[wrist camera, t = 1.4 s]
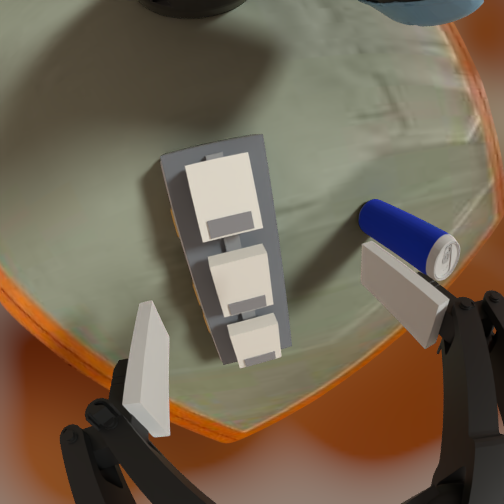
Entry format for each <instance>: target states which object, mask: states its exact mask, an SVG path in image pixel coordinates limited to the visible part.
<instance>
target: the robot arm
mask: <svg viewBox="0 0 504 504" xmlns="http://www.w3.org/2000/svg"><path fill="white" fill-rule="evenodd" d="M245 1H246V0H139V2H140V3H141V4H142V5H143V6H145V7H146V8H148V9H149V10H151V11H153V12H155V13H158V14H161V15H164V16H169V17H174V18H202V17H209V16H214V15H217V14H221V13H224V12H227V11H229V10H232V9H234V8H236V7H238V6H239V5H241V4H242V3H244V2H245ZM358 1H360V2H362V3H365V4H368V5H370V6H372V7H373V8H375V9H376V10H378V11H380V12H381V13H383V14H384V15H386V16H387V17H389V18H391V19H392V20H394V21H397V22H399V23H402V24H406V25H418V26H435V25H442V24H446V23H450V22H453V21H456V20H459V19H461V18H463V17H465V16H467V15H469V14H471V13H472V12H474V11H475V10H477V9H478V8H479V7H480V6H481V5H482V4H483V1H484V0H358ZM361 283H362V284H363V285H364V286H365V287H366V288H367V289H368V290H369V291H370V292H371V293H372V294H373V295H374V296H375V297H376V298H377V299H378V300H379V301H380V302H381V303H382V304H383V305H384V306H385V307H386V308H387V309H388V311H389V312H390V313H391V314H392V315H393V316H394V317H395V318H396V319H397V320H398V321H399V322H400V323H401V324H402V325H403V326H404V327H405V328H406V329H407V330H408V331H409V332H410V333H411V335H413V337H414V338H415V339H416V340H417V341H418V342H419V343H420V344H421V345H422V346H423V347H424V348H425V349H426V348H428V347H429V346H431V345H433V344H434V343H436V340H437V337H438V334H440V336H441V337H442V340H441V343H440V346H439V348H438V351H437V354H439V352H440V350H441V349H442V362H443V383H444V411H443V413H444V414H443V431H442V444H441V453H440V461H439V464H438V467H437V469H436V471H435V473H434V475H433V479H432V484H431V487H429V488H427V489H426V490H424V491H422V492H420V493H419V494H417V495H415V496H413V497H411V498H410V499H408V500H406V501H405V502H403V503H401V504H504V435H503V434H500V433H499V427H498V410H497V404H498V407H499V411H500V414H501V417H502V421H503V424H504V297H503V296H502V295H501V294H500V293H498V292H496V291H487V292H486V293H485V295H484V298H483V300H481V301H477V302H474V301H473V300H471V299H469V298H466V297H459V298H456V297H455V296H454V295H452V294H451V293H450V292H449V291H447V290H446V289H445V288H443V287H442V286H441V285H439V284H438V283H437V282H436V281H434V280H433V279H432V278H430V277H429V276H428V275H426V274H423V273H420V272H418V273H416V272H414V271H413V270H412V269H410V268H409V267H408V266H406V265H405V264H404V263H402V262H401V261H399V260H398V259H397V258H395V257H394V256H393V255H391V254H390V253H388V252H387V251H386V250H384V249H383V248H381V247H380V246H379V245H377V244H376V243H374V242H373V241H370V242H367V243H363V244H362V256H361ZM494 327H495V329H496V334H494V333H493V329H494ZM112 378H113V379H112V382H111V387H110V393H109V399H104V398H100V399H96V400H94V401H92V402H91V403H90V404H89V405H88V407H87V409H86V411H85V417H86V420H87V421H88V422H89V423H90V424H91V425H92V426H91V427H88V428H85V429H81V428H80V427H79V426H78V425H74V424H72V425H68V426H67V427H65V428H64V429H63V430H62V432H61V435H60V444H61V450H62V455H63V459H64V464H65V468H66V472H67V476H68V480H69V483H70V487H71V491H72V494H73V497H74V500H75V503H76V504H136V502H135V500H134V498H133V496H132V494H131V492H130V490H129V488H128V486H127V483H126V481H125V479H124V476H123V474H122V472H121V469H120V467H119V464H121V466H122V467H123V468H124V470H125V471H126V472H127V474H128V475H129V476H130V478H131V479H132V480H133V481H134V483H135V484H136V485H137V486H138V487H139V489H140V490H141V491H142V492H143V493H144V495H145V496H146V497H147V498H148V499H149V500H150V502H151V503H152V504H216V503H215V502H213V501H212V500H211V499H210V498H209V497H207V496H206V495H205V494H204V493H203V492H201V491H200V490H199V489H198V488H197V487H196V486H195V485H193V484H192V483H191V482H190V481H189V480H188V479H187V478H186V477H185V476H184V475H182V473H180V472H179V471H178V470H177V469H176V468H175V467H174V466H173V465H172V464H171V463H170V462H169V461H168V460H167V459H166V458H165V457H164V456H163V455H162V453H161V452H160V451H159V450H158V449H157V448H156V447H155V446H154V445H153V444H152V442H151V441H149V440H148V432H149V433H150V434H151V435H152V436H153V437H162V436H170V420H169V335H168V333H167V331H166V329H165V327H164V325H163V323H162V320H161V318H160V316H159V314H158V312H157V310H156V307H155V305H154V303H153V301H152V300H151V301H146V302H142V303H139V308H138V312H137V317H136V322H135V327H134V332H133V337H132V342H131V348H130V354H129V359H123V360H119V361H118V363H117V365H116V366H115V368H114V371H113V376H112Z"/></svg>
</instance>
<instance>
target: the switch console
mask: <svg viewBox="0 0 504 504" xmlns="http://www.w3.org/2000/svg"><path fill="white" fill-rule="evenodd" d="M246 152H248V154H249V159H250V164H251V169H252V174H253V179H254V184H255V189H256V194H257V199H258V204H259V209H260V214H261V219H262V225H263V228H261V229H257V230H252V231H248V232H244V233H240V234H236V235H232V236H228V237H224V238H219V239H215V240H211V241H207V242H203V241H202V237H201V233H200V229H199V225H198V221H197V217H196V212H195V208H194V204H193V200H192V196H191V191H190V187H189V182H188V178H187V173H186V169H185V166H186V165H190V164H195V163H199V162H203V161H207V160H212V159H216V158H221V157H226V156H231V155H236V154H241V153H246ZM160 158H161V161H160V164H161V169H162V173H163V177H164V181H165V185H166V189H167V193H168V197H169V201H170V204H171V210H170V211H171V215H172V219H173V222H174V226H175V229H176V233H177V236H178V237H180V240H181V244H182V247H183V251H184V254H185V257H186V260H187V264H188V267H189V270H190V273H191V277H192V284H193V288H194V291H195V294H196V297H197V300H198V303H199V305H201V307H202V312H203V317H204V320H205V323H206V326H207V328H208V331H209V333H211V335H212V338H213V341H214V344H215V346H216V349H217V352H218V354H219V357H220V360H221V361H222V362H223V365H225V364H229V363H233V362H237V361H238V360H237V357H236V354H235V351H234V348H233V345H232V342H231V339H230V335H229V331H228V327H227V325H229V324H233V323H237V322H241V321H244V320H248V319H252V318H256V317H259V316H263V315H267V314H270V313H274V315H275V317H276V320H277V322H278V328H279V337H280V347H281V349H284V348H287V347H290V346H292V342H291V333H290V324H289V315H288V307H287V298H286V290H285V282H284V274H283V266H282V259H281V251H280V244H279V237H278V229H277V222H276V215H275V209H274V202H273V195H272V189H271V182H270V176H269V169H268V163H267V157H266V151H265V145H264V139H263V134H252V135H246V136H241V137H235V138H230V139H225V140H220V141H215V142H210V143H206V144H201V145H197V146H193V147H189V148H184V149H180V150H177V151H173V152H169V153H165V154H163V155H161V156H160ZM258 244H263V246H264V248H265V250H266V252H267V255H268V263H269V271H270V280H271V288H272V296H273V305H269V306H266V307H262V308H259V309H255V310H251V311H247V312H244V313H240V314H236V315H232V316H228V317H224V314H223V311H222V308H221V305H220V301H219V298H218V295H217V291H216V288H215V284H214V281H213V277H212V274H211V270H210V267H209V261H208V257H209V256H213V255H217V254H221V253H225V252H229V251H233V250H238V249H242V248H246V247H250V246H254V245H258Z"/></svg>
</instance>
